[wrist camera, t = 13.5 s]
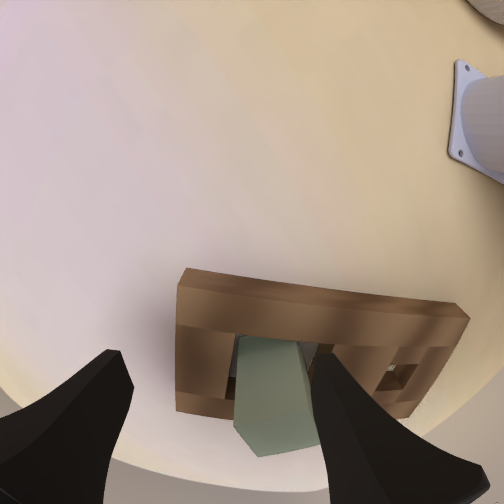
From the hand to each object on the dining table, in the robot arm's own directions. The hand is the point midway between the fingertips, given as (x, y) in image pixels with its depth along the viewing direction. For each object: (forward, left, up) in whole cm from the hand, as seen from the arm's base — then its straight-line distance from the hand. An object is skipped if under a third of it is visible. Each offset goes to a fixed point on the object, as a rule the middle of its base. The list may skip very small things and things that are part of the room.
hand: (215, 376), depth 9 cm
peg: (-4, +6, -9) cm, 12 cm away
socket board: (-8, +6, -9) cm, 14 cm away
